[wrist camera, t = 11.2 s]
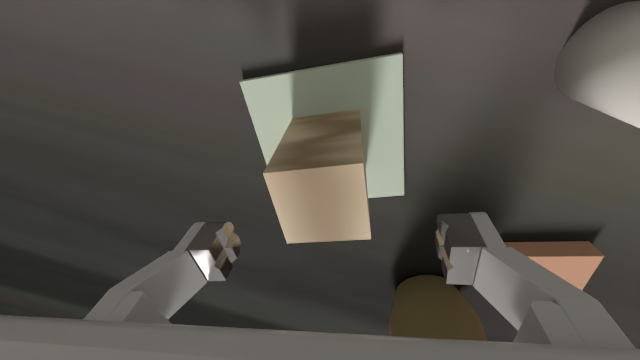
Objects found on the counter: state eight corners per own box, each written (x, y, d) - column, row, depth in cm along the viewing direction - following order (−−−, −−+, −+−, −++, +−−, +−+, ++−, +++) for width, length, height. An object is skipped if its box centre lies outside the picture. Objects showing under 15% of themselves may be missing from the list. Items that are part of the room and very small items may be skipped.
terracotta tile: (585, 237, 22) (604, 256, 20) (563, 276, 25) (578, 295, 23) (493, 238, 23) (504, 256, 21) (482, 275, 26) (491, 294, 24)
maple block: (359, 109, 17) (363, 163, 11) (365, 168, 19) (371, 239, 14) (292, 118, 18) (263, 173, 12) (306, 174, 20) (287, 243, 14)
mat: (401, 52, 16) (402, 53, 15) (403, 190, 21) (404, 195, 20) (242, 79, 17) (239, 81, 17) (281, 200, 23) (279, 204, 22)
